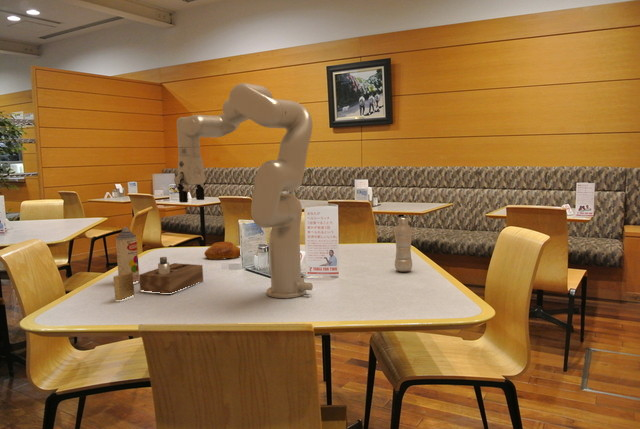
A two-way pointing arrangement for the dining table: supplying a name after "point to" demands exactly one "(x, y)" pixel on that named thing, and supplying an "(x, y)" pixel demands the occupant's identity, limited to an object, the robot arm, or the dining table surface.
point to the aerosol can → (127, 253)
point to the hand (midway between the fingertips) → (192, 201)
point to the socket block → (171, 278)
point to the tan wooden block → (123, 286)
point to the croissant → (222, 251)
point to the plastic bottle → (403, 245)
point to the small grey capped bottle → (163, 266)
